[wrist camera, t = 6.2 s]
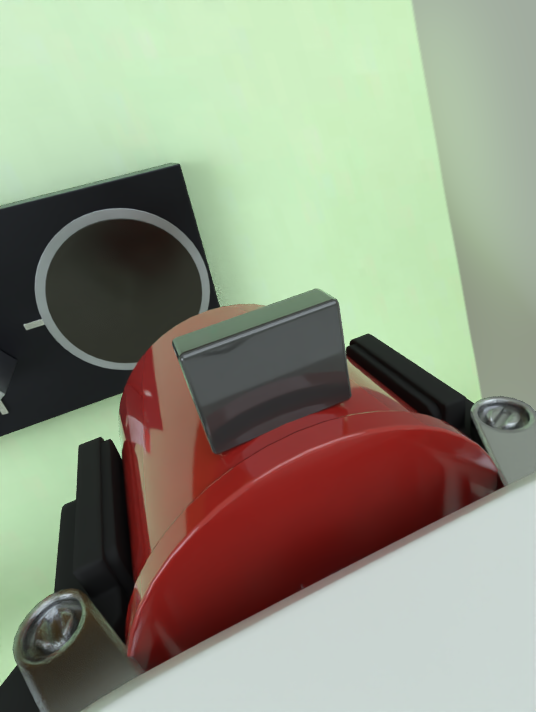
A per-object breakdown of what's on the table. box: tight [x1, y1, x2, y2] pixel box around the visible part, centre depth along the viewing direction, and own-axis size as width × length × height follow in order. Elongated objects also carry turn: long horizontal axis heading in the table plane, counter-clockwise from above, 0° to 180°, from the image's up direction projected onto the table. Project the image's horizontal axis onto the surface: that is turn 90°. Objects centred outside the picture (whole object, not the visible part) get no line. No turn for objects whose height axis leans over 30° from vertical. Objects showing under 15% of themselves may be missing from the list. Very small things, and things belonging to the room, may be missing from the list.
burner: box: [35, 208, 210, 370], centre depth 25 cm, size 10×10×1 cm
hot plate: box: [0, 163, 220, 436], centre depth 25 cm, size 19×12×3 cm, turn 102°
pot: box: [119, 289, 499, 672], centre depth 10 cm, size 7×10×8 cm
